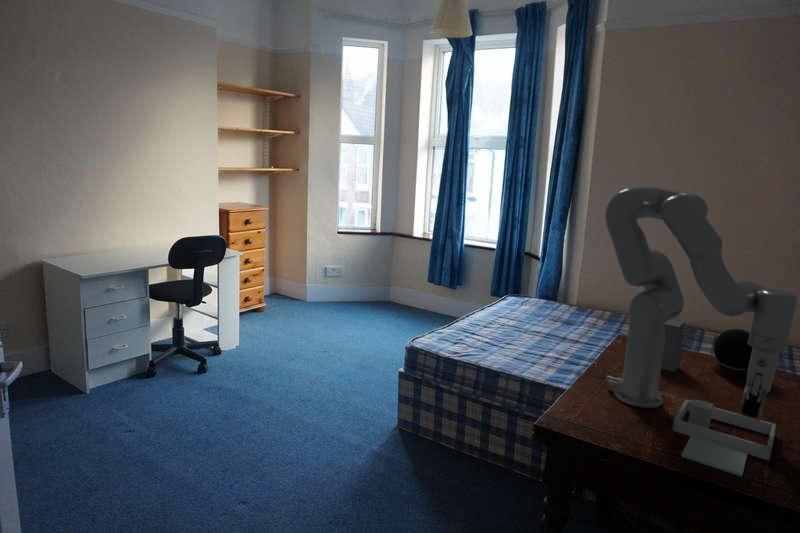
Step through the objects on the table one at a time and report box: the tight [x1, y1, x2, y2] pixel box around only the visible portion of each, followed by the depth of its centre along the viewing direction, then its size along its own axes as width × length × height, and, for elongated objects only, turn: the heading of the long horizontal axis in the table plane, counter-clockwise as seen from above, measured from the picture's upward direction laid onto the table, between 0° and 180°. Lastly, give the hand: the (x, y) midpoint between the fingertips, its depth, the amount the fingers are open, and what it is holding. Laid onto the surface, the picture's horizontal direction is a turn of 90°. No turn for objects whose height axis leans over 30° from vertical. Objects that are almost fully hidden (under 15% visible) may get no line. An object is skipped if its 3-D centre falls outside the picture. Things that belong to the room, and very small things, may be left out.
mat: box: [680, 435, 749, 477], centre depth 127 cm, size 12×12×1 cm
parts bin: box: [671, 398, 777, 462], centre depth 138 cm, size 21×16×3 cm
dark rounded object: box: [712, 328, 753, 382], centre depth 176 cm, size 13×13×15 cm
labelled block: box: [737, 385, 767, 421], centre depth 133 cm, size 4×4×6 cm
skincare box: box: [661, 319, 685, 373], centre depth 179 cm, size 8×7×16 cm
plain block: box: [687, 398, 714, 429], centre depth 141 cm, size 4×4×6 cm
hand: (750, 410), depth 134 cm, fingers closed on labelled block, 4 cm apart
